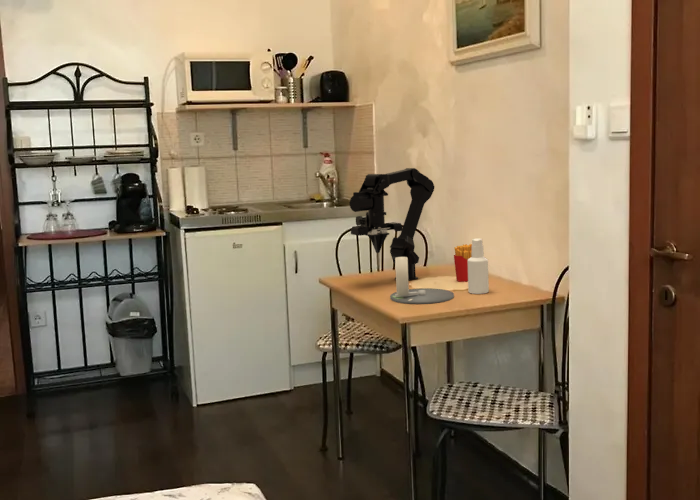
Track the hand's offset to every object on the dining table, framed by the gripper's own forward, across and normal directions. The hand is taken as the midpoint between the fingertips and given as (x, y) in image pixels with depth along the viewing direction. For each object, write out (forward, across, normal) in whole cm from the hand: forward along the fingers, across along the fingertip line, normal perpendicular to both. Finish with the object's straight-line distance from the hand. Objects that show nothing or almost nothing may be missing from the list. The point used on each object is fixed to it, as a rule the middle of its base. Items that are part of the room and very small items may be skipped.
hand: (377, 252), depth 279 cm
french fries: (+12, -29, +14) cm, 34 cm away
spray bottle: (+12, -18, +33) cm, 40 cm away
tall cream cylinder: (+11, +6, +26) cm, 28 cm away
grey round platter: (+12, 0, +26) cm, 29 cm away
